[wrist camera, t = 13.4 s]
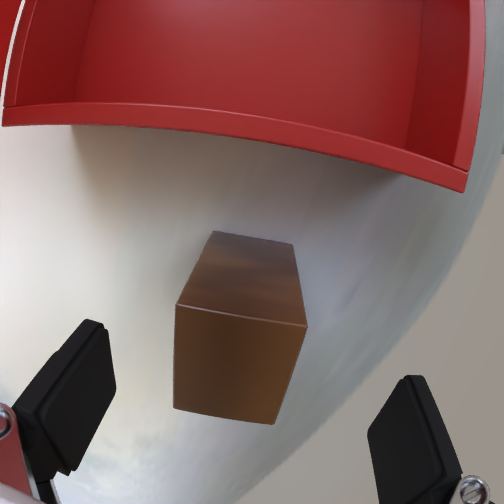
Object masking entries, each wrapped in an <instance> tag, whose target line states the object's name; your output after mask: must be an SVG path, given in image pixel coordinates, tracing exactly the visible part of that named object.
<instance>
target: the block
mask: <svg viewBox="0 0 504 504" xmlns="http://www.w3.org/2000/svg"><path fill="white" fill-rule="evenodd" d="M307 328H308V325H307V319H306V314H305V308H304V302H303V297H302V291H301V286H300V280H299V275H298V270H297V264H296V259H295V254H294V249H293V245H292V244H287V243H281V242H276V241H270V240H264V239H258V238H253V237H247V236H241V235H235V234H229V233H223V232H217V231H213V232H212V234H211V236H210V238H209V240H208V242H207V244H206V246H205V248H204V249H203V251H202V253H201V255H200V257H199V259H198V261H197V263H196V265H195V267H194V269H193V271H192V273H191V275H190V277H189V279H188V281H187V283H186V285H185V286H184V288H183V290H182V292H181V294H180V296H179V298H178V300H177V302H176V304H175V325H174V356H173V408H175V409H178V410H183V411H188V412H193V413H198V414H203V415H208V416H214V417H220V418H226V419H232V420H238V421H245V422H253V423H261V424H270V425H273V424H274V423H275V421H276V418H277V416H278V413H279V410H280V407H281V405H282V402H283V399H284V396H285V394H286V391H287V388H288V385H289V382H290V379H291V377H292V374H293V371H294V368H295V365H296V362H297V359H298V356H299V353H300V350H301V347H302V344H303V340H304V337H305V334H306V331H307Z"/></svg>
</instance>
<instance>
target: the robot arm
mask: <svg viewBox="0 0 504 504" xmlns="http://www.w3.org/2000/svg"><path fill="white" fill-rule="evenodd" d="M115 393H116V381H115V375H114V369H113V363H112V356H111V349H110V341H109V333H108V330H107V329H104V325H103V324H102V323H99V322H96V321H93V320H89V319H85V320H84V321H83V322H82V323H81V324H80V325H79V326H78V327H77V329H76V330H75V331H74V332H73V333H72V335H71V336H70V337H69V338H68V339H67V341H66V342H65V343H64V344H63V345H62V347H61V348H60V349H59V350H58V351H56V352H55V353H54V354H53V355H52V356H51V357H50V358H49V360H48V361H47V362H46V363H45V365H44V366H43V367H42V368H41V370H40V371H39V372H38V373H37V375H36V376H35V377H34V378H33V380H32V381H31V382H30V384H29V385H28V386H27V388H26V389H25V390H24V391H23V393H22V394H21V395H20V397H19V398H18V399H17V401H16V402H15V403H14V405H13V406H12V408H10V407H9V406H7V405H6V404H2V403H0V504H61V502H60V499H59V496H58V493H57V490H56V487H55V484H54V481H53V478H54V477H55V475H56V473H57V471H58V472H60V473H62V474H64V475H66V476H69V474H70V472H71V470H72V471H76V470H77V468H78V466H79V464H80V462H81V460H82V458H83V456H84V454H85V452H86V450H87V448H88V446H89V444H90V442H91V440H92V438H93V436H94V434H95V432H96V430H97V428H98V426H99V424H100V422H101V421H102V419H103V417H104V415H105V413H106V411H107V409H108V407H109V405H110V403H111V401H112V400H113V398H114V396H115ZM367 438H368V443H369V448H370V453H371V458H372V464H373V469H374V475H375V479H376V486H377V492H378V498H379V504H495V503H493V502H491V501H490V489H489V487H488V485H487V483H486V482H485V481H484V480H483V479H481V478H480V477H478V476H475V475H469V476H466V477H464V478H463V479H462V478H461V474H462V473H463V472H462V469H461V467H460V464H459V461H458V458H457V455H456V453H455V450H454V447H453V445H452V442H451V440H450V437H449V434H448V432H447V429H446V427H445V424H444V422H443V419H442V417H441V415H440V412H439V410H438V407H437V405H436V403H435V400H434V398H433V396H432V394H431V391H430V389H429V387H428V385H427V382H426V380H425V378H424V377H423V376H421V375H406V376H405V377H404V378H403V379H401V380H399V382H398V383H397V385H396V387H395V388H394V390H393V392H392V393H391V395H390V396H389V398H388V400H387V401H386V403H385V404H384V406H383V408H382V409H381V411H380V412H379V414H378V415H377V417H376V418H375V420H374V421H373V422H372V424H371V426H370V427H369V429H368V433H367Z"/></svg>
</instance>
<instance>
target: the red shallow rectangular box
mask: <svg viewBox="0 0 504 504" xmlns="http://www.w3.org/2000/svg"><path fill="white" fill-rule="evenodd" d="M484 64H485V1H484V0H26V1H25V4H24V7H23V10H22V14H21V17H20V21H19V24H18V28H17V32H16V36H15V40H14V44H13V49H12V54H11V59H10V64H9V69H8V75H7V81H6V88H5V96H4V104H3V107H4V109H3V117H2V126H3V127H9V126H29V125H104V126H125V127H141V128H155V129H166V130H177V131H186V132H195V133H204V134H212V135H219V136H227V137H234V138H240V139H247V140H253V141H259V142H265V143H271V144H276V145H282V146H287V147H292V148H297V149H302V150H307V151H312V152H317V153H321V154H326V155H330V156H334V157H339V158H343V159H347V160H351V161H355V162H359V163H363V164H367V165H371V166H375V167H378V168H382V169H386V170H389V171H393V172H396V173H400V174H403V175H407V176H410V177H413V178H417V179H420V180H423V181H426V182H429V183H432V184H435V185H439V186H442V187H445V188H447V189H450V190H453V191H456V192H459V193H464V190H465V186H466V182H467V178H468V173H467V172H468V171H469V170H470V165H471V161H472V156H473V151H474V146H475V140H476V134H477V128H478V122H479V115H480V107H481V99H482V90H483V78H484Z"/></svg>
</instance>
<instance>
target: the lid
mask: <svg viewBox="0 0 504 504" xmlns="http://www.w3.org/2000/svg"><path fill="white" fill-rule="evenodd" d="M21 1H22V0H0V96H1V88H2V82H3V75H4V69H5V64H6V59H7V54H8V49H9V45H10V40H11V36H12V32H13V28H14V24H15V21H16V17H17V14H18V10H19V7H20V4H21Z"/></svg>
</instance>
